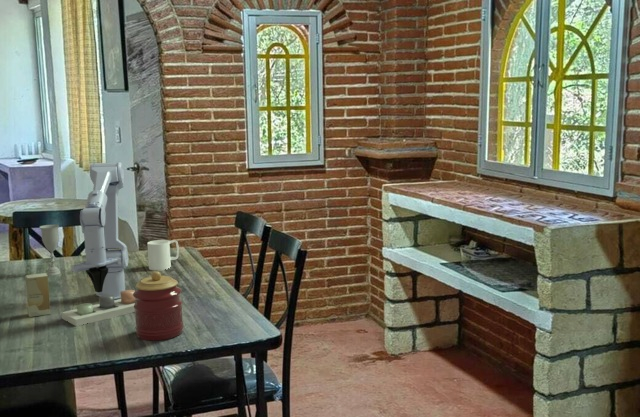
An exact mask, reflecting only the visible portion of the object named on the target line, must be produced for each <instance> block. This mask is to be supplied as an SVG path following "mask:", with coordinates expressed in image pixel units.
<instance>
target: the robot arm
mask: <svg viewBox="0 0 640 417" xmlns="http://www.w3.org/2000/svg"><path fill="white" fill-rule="evenodd" d="M124 170H125V169H124V164H123V163H122V162H121V161H118V162H96V163H95V162H92V163H91V164H90V166H89V177H90V180H91V182H92V183H93V189H92V191H90V192H89V193H88V196H87V198H86V203H85V206H84V208H83V209H81V210H80V211H79V213H80V214H79V223H80V227H81V231H82V234H83V238H84V239H83V240H84V249H85V250H84V251H85V261H84V262H81V263H77V264H73V265H71V273H73V274H76V273H79V272H84V271H85V272H86V273H87V275H88V277H89V279H90V281H91V283H92V285H93V289H94V292H96V294H95V295H96V296H97V297H98V298H99V297H100V296H102V295H108V294H111V295H114V300H118V299H121V293H120V292H121V291H124V290H126V278H125V269H127V267H128V265H129V252H128V246H127V244H125V243H124V242H123V241H121V240H120V239H119V200H118V199H119V198H118V197H119V191H120V190H121V189H123V188H124V186H125V171H124Z"/></svg>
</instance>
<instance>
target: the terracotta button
mask: <svg viewBox="0 0 640 417" xmlns="http://www.w3.org/2000/svg"><path fill="white" fill-rule="evenodd" d="M135 291H136V290H134V289H125V290H124V291H121V292H120V293H121V298H120V299H121V303H123V304H130V303H134V302H135V297H134V296H133V293H134V292H135Z"/></svg>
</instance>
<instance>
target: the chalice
mask: <svg viewBox="0 0 640 417" xmlns="http://www.w3.org/2000/svg"><path fill="white" fill-rule="evenodd" d="M59 227H60V225H59V224H45V225H40V226H39V229H40V232H41V233H40V234H41V241H42V244H43V245H44V247H45V248H46V250H47V251H49V252H50V255H49V258H50V260H49V261H50V264H51V266H50V267H48V269H47V272H46V273H47V275H48V276H56V275H60V274H61V271H60V269H59V267H58V266H56V264H55V262H56V260H55V255H54V251H56V249H57V246H58V244H59V240H60V235H59V234H60V232H59V229H60V228H59Z"/></svg>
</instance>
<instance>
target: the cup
mask: <svg viewBox="0 0 640 417" xmlns="http://www.w3.org/2000/svg"><path fill="white" fill-rule="evenodd" d="M173 243H175V245H176V256H171V247H170V245H171V244H173ZM147 256H148V257H147V258H148V269H149V270H150V271H154V272H155V271H158V272H159V271H166V270H168V268H169V269H171V268H172V264H171V262H172V261H175V260H178V258H179V256H180V246H179V242H178V240H175V239H174V240H167V239H157V240H156V239H155V240H151V241H148V242H147ZM170 267H171V268H170ZM165 269H166V270H165Z"/></svg>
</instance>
